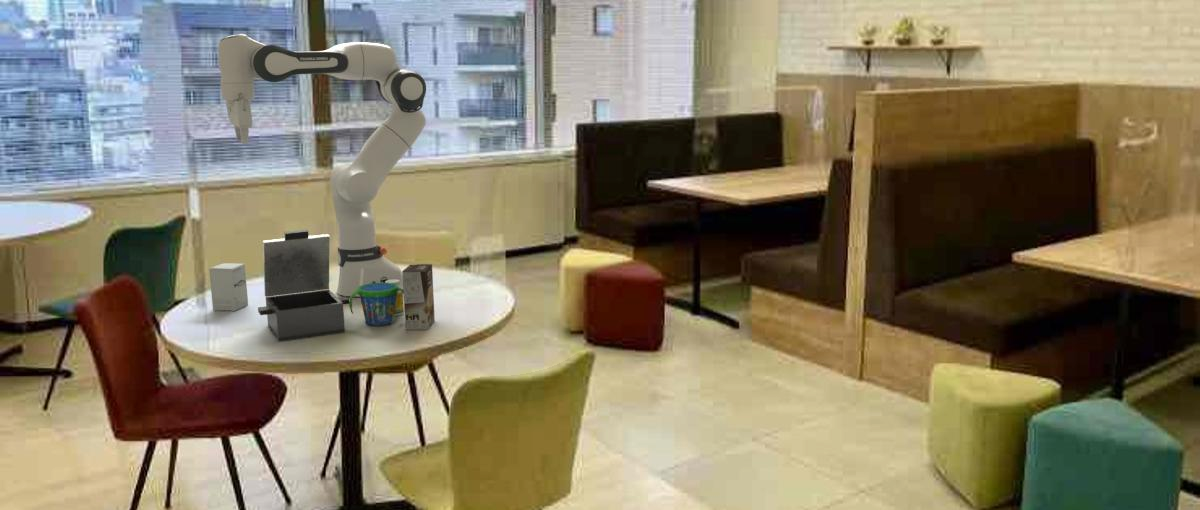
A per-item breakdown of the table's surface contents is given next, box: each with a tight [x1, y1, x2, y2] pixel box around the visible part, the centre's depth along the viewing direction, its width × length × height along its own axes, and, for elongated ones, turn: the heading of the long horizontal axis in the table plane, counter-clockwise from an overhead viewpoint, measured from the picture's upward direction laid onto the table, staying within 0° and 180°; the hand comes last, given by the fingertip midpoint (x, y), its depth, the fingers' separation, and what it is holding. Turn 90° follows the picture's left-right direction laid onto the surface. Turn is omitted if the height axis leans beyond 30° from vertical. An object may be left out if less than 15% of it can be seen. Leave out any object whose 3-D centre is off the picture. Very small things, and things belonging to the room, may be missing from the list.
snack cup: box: [348, 283, 403, 327], centre depth 267 cm, size 16×10×10 cm
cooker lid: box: [262, 229, 330, 298], centre depth 265 cm, size 17×19×1 cm
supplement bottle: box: [385, 280, 405, 317], centre depth 276 cm, size 5×5×10 cm
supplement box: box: [208, 262, 249, 312], centre depth 285 cm, size 7×7×13 cm
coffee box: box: [401, 263, 436, 331], centre depth 263 cm, size 9×6×16 cm
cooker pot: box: [257, 289, 350, 342], centre depth 262 cm, size 23×17×8 cm
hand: (242, 142), depth 279 cm, fingers open, 8 cm apart
